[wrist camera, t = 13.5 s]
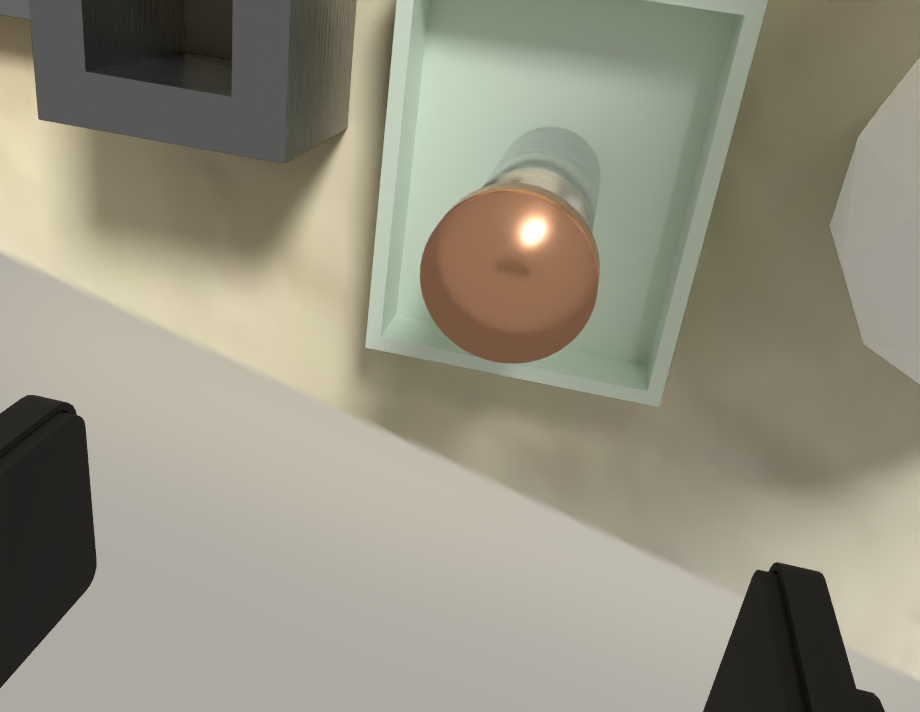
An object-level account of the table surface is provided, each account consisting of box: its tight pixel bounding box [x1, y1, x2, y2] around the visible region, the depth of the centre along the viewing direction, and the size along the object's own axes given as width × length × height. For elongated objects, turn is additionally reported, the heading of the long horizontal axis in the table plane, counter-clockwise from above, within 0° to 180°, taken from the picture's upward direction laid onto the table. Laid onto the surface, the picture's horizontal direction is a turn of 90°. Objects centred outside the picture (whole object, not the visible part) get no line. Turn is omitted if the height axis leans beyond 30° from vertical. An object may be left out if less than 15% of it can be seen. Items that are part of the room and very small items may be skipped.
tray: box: [365, 0, 768, 407], centre depth 33 cm, size 15×12×3 cm
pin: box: [420, 127, 601, 364], centre depth 28 cm, size 5×5×12 cm
